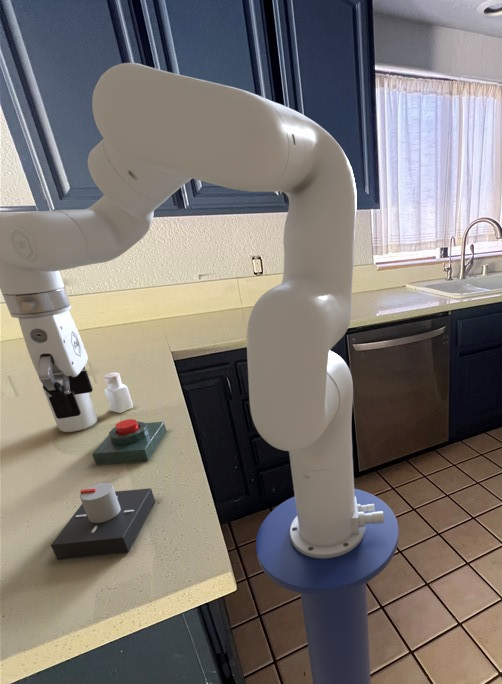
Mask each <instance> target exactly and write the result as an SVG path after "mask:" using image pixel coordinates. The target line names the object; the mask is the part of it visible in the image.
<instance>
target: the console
mask: <svg viewBox="0 0 502 684" xmlns="http://www.w3.org/2000/svg"><path fill="white" fill-rule="evenodd" d="M136 421H137V420H136ZM137 423H138V427H139V430H137V431H135V432H133V433H130V434H127V435H118V433H117V430H116V427H115V426H114V427H113V428H111V429H110V431H109V432H108V435H107V436H106V437H105V438H104V440H103V441H101V443H100V444H99V445H98V447H96V448H95V450H94V451H93V452H92V453H91V455H92V458H93V461H94V463H95V466H102V465H112V464H113V465H114V464H125V463H136V462H148V461H149V460H150V458H151V457H152V455H153V454H154V452H155V451H156V449H157V447H159V445H160V443H161V441H162V440H163V438H164V436H165V435H166V433H167V428H166V424H165V421H155V422H154V421H153V422H152V421H151V422H144V421H137Z"/></svg>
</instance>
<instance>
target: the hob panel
mask: <svg viewBox="0 0 502 684" xmlns="http://www.w3.org/2000/svg"><path fill="white" fill-rule="evenodd" d="M114 491H115V490H114ZM115 494H116V497H117V499H118V502H119V505H120V508H121V510H120V512H119V514H118V515H117V516H115V517H114V518H112V519H110V520H108V521H106V522H102V523H92V522H90V521H89V519H88V516H87V514H86V511H85V509H84V506H83V504H82V503H81V504H80V505H79V507H78V509H77V510H76V511H75V512H74V513H73V515H72V517H70V519H69V521H67V523H66V524H65V525H64V526H63V528H62V529H61V531H60V532H59V533H58V535H56V537H55V539H54V540H53V541H52V542H51V543H50V547H51V549H52V552H53V554H54V556H55V558H56V560H57V561H61V560H70V559H71V560H72V559H80V558H88V557H97V556H99V557H100V556H108V555H116V554H117V555H118V554H126V553H127V554H128V553H129V552H130V550H131V549H132V546H133V545H134V543H135V541H136V539H137V537H138V535H139V534H140V531H141V529H142V528H143V526H144V524H145V523H146V521H147V518H148V516H149V515H150V513H151V511H152V509H153V507H154V505H155V504H156V499H155V496H154V493H153V489H152V488H151V487H149V488H139V489H137V488H136V489H129V490H127V489H125V490H116V491H115Z"/></svg>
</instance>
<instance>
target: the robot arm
mask: <svg viewBox="0 0 502 684" xmlns="http://www.w3.org/2000/svg"><path fill="white" fill-rule="evenodd" d="M91 105H92V106H91V107H92V114H93V119H94V122H95V125H96V127H97V130H98V132H99V134H100V135H101V136H102V139H101V141H100V142H98V143H97V144H96V145H95V146H94V147H93V148H92V149H90V152H89V154H88V155H87V167H88V171H89V175H90V176H91V178H92V180H93V182H94V184H95V185H96V187H97V188H98V189H99V191H100V192H101V193H102V194H103V195H102V196H101V197H100V198H99V199H98V200H97V201H95V202H94V203H93V204H92V205H91V206H89V207H87V208H84V209H83V208H82V209H81V208H80V209H53V210H40V211H39V210H38V211H27V212H1V213H0V292H1V295H2V297H3V299H4V303H5V305H6V307H7V310H8V312H9V314H10V317H11V318H13V319H14V318H15V319H18V324H19V327H20V330H21V333H22V336H23V340H24V343H25V346H26V349H27V352H28V355H29V357H30V360H31V362H32V365H33V367H34V370H35V372H36V374H37V376H38V379H39V381H40V382H41V384H42V389H43V388H44V390H45V391H46V394H47V396H48V397H49V400H50V403H51V405H52V408H53V410H54V413H55V415H56V417H57V418H58V419H62V418H68V417H74V416H79V415H80V414H81V411H80V408H79V406H78V403H77V400H76V398H75V395H77V394H83V393H89V394H90V393H92V392H93V390H94V389H93V386H92V383H91V380H90V376H89V374H88V371H87V370H86V365H87V363H88V360H89V355H88V352H87V350H86V347H85V345H84V342H83V340H82V338H81V334H80V332H79V330H78V327H77V324H76V323H75V321H74V318H73V316H72V314H71V312H70V310H72V305H71V302H70V299H69V296H68V293H67V290H66V286H65V284H64V282H63V278H62V275H61V272H60V271H65V270H70V269H75V268H78V267H85V266H90V265H96V264H102V263H106V262H111V261H113V260H114V259H117V258H119V257H120V256H122V255H123V254H124V253H126V252H127V251H128V250H130V249H131V248H132V247H134V246H135V245H136V244H137V243H138V242H140V241H141V240H142V239H143V238H144V237H145V236H146V235H147V234H148V233H149V231H150V228H151V225H152V223H153V220H154V216H155V215H154V213H155V212H154V211H155V210H156V209H158V208H159V207H160V206H162V204H163V203H165V202H166V201H168V199H169V198H170V197H171V196H172V195H174V194H176V192H177V191H178V190H180V189H181V188H182V187H184V186H185V185H186V184H187V183H189V182H190V181H191V180H192V179H193V180H196V181H200V182H205V183H207V184H211V185H215V186H218V187H222V188H226V189H230V190H234V191H235V190H236V191H241V192H251V193H253V192H254V193H256V192H257V193H258V192H259V193H260V192H261V193H263V192H268V193H271V192H272V193H275V192H282V193H284V194H285V195H286V196H287V199H288V209H287V215H286V217H285V222H284V230H283V238H282V241H283V242H282V243H283V274H282V281H281V283H280V284H278V285H275V286H274V287H272V288H270V289H268V290H266V292H264V293H263V294H261V296H260V297H259V298H258V299H257V301H256V302H255V304H254V305H253V306H252V308H251V311H250V315H249V317H248V322H247V327H246V356H247V357H246V358H247V359H246V360H247V377H248V381H247V382H248V400H249V410H250V415H251V419H252V423H253V425H254V427H255V429H256V431H257V433H258V434H259V436H260V437H261V438H262V439H263V440H264V441H265V442H266V443H268V444H269V445H270V446H272V447H273V448H275V449H278V450H281V451H285V452H288V454H289V455H288V457H289V463H290V471H291V478H292V486H293V492H294V493H293V495H294V496H295V502H296V509H297V516H296V518H295V519H294V520H293V522H292V524H291V527H290V538H291V542H292V544H293V546H294V547H295V548H296V549H297V550H298V551H299V552H300V553H302V554H304V555H306V556H309V557H313V558H321V559H322V558H333V557H337V556H340V555H343V554H345V553H347V552H349V551H351V550H352V549H354V548H355V547H356V546H357V545H358V544H359V543H360V542H361V540H362V539H363V537H364V534H365V528H366V527H365V524H372V523H373V524H378V523H384V515H383V511H378V512H375V507H374V504H368V505H362V506H360V504H357V501H356V496H355V494H354V489H355V476H354V459H353V438H352V437H353V435H352V433H353V432H352V419H353V417H352V416H353V401H354V386H353V385H354V384H353V383H354V382H353V377H352V374H351V370H350V368H349V366H348V364H347V362H346V361H345V360H344V358H342V357H341V355H338V354H337V353H335V352H334V351H332V349H333V347H334V346H336V345H337V344H338V342H340V340H341V339H342V338H343V337H344V336H345V335H346V333H347V331H348V329H349V327H350V324H351V320H352V319H351V318H352V295H353V281H354V280H353V279H354V264H355V238H356V237H355V235H356V223H357V222H356V221H357V187H356V182H355V177H354V173H353V168H352V166H351V164H350V161H349V159H348V157H347V155H346V154H345V151H344V150H343V148H342V146H341V145H340V144H339V142H338V141H337V140H336V139H335V138H334V137H333V136H332V134H330V133H329V132H328V131H327V130H326V129H324V128H323V127H322V126H321V125H319V123H317V122H316V121H314V120H312V119H311V118H309V117H307V116H306V115H304V114H303V113H300V112H298V111H297V110H295V109H292V108H290V107H288V106H286V105H283V104H281V103H278V102H276V101H272V100H270V99H268V98H266V97H263V96H261V95H260V94H256V93H252V92H251V91H247V90H244V89H241V88H237V87H234V86H230V85H227V84H226V85H225V84H222V83H217V82H213V81H209V80H204V79H200V78H196V77H191V76H187V75H183V74H180V73H179V74H178V73H174V72H170V71H166V70H162V69H159V68H155V67H152V66H148V65H144V64H141V63H137V62H123V63H118V64H117V65H113V66H112V67H110V68H108V69H107V70H106V71H105V72H103V73H102V74H101V75H100V78H99V79H98V81H97V83H96V85H95V87H94V90H93V92H92V100H91ZM58 373H63V374H58ZM53 374H57V375H53ZM59 380H62V383H63V386H62V385H61V384H60V383H59V382H55V381H59ZM43 385H44V386H43ZM44 390H43V391H44ZM70 391H71V392H70ZM366 512H367V513H366ZM369 512H372V513H369ZM364 513H365V514H364Z"/></svg>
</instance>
